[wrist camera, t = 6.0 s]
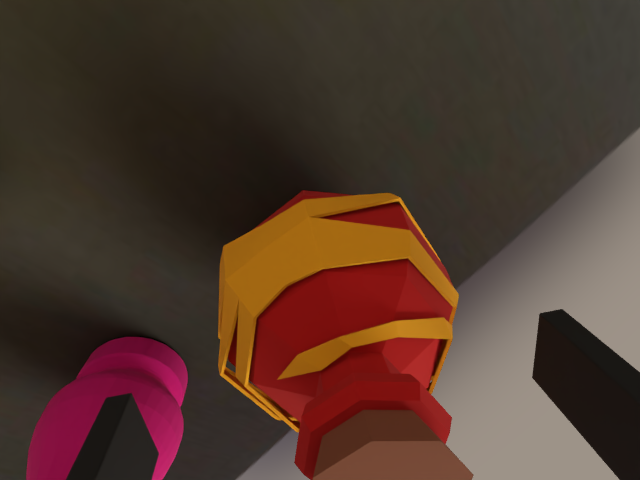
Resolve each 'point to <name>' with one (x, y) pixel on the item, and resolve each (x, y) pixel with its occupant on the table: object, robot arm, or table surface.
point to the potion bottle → (343, 335)
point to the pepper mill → (106, 381)
